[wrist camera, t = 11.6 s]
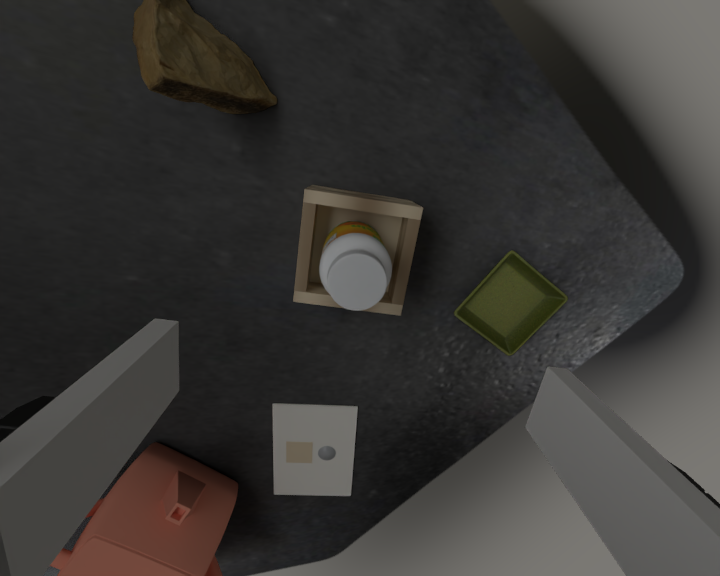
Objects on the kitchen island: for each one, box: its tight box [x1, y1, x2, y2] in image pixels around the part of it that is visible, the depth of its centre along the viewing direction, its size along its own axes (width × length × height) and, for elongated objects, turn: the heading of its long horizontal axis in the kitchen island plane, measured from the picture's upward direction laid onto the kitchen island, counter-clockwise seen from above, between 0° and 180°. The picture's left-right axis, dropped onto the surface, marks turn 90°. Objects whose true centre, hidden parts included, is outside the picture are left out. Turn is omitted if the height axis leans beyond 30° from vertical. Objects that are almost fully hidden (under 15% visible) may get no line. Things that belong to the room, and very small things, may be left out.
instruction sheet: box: [273, 403, 358, 496], centre depth 44 cm, size 10×14×1 cm
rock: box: [133, 0, 277, 114], centre depth 27 cm, size 11×9×10 cm
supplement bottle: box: [319, 220, 392, 311], centre depth 28 cm, size 5×5×10 cm
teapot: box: [50, 442, 238, 576], centre depth 39 cm, size 20×22×14 cm
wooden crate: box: [293, 185, 423, 316], centre depth 33 cm, size 10×10×6 cm
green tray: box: [454, 251, 568, 356], centre depth 38 cm, size 9×9×2 cm
